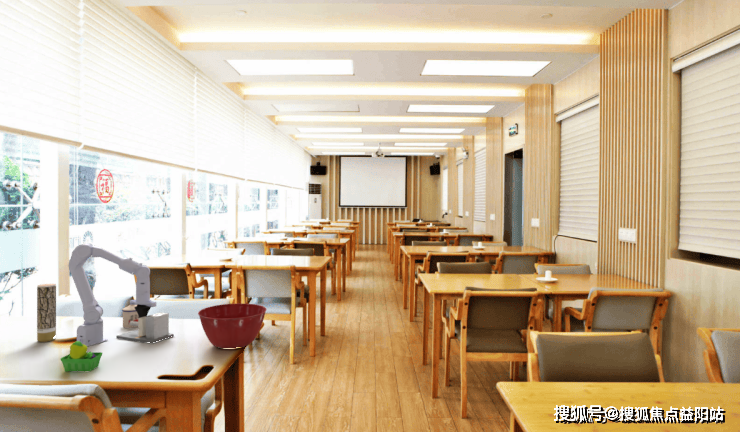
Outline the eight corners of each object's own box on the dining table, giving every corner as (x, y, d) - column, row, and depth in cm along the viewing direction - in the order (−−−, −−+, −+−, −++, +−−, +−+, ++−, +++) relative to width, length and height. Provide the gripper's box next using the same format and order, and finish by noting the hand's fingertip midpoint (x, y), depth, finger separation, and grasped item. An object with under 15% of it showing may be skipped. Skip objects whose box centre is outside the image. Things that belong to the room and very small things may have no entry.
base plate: (152, 343, 188) (152, 340, 188) (116, 338, 196) (116, 335, 196) (173, 336, 200) (173, 333, 200) (139, 331, 208) (139, 329, 208)
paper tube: (45, 343, 189) (45, 286, 189) (33, 342, 190) (33, 285, 190) (59, 338, 195) (59, 284, 195) (47, 337, 197) (47, 283, 197)
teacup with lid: (128, 329, 212) (128, 305, 212) (118, 326, 217) (118, 303, 217) (151, 324, 222) (151, 301, 222) (141, 321, 227) (141, 299, 227)
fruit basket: (103, 365, 161) (103, 335, 161) (89, 374, 153) (89, 342, 153) (72, 365, 161) (73, 335, 161) (56, 374, 152) (56, 342, 152)
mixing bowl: (278, 346, 186) (278, 310, 186) (213, 360, 167) (213, 321, 167) (249, 332, 207) (249, 300, 207) (188, 344, 188) (188, 309, 188)
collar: (142, 336, 194) (142, 318, 194) (138, 335, 195) (138, 318, 195) (155, 332, 200) (155, 315, 200) (151, 331, 201) (151, 314, 201)
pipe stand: (154, 339, 191) (154, 317, 191) (123, 335, 197) (123, 313, 197) (168, 334, 198) (168, 313, 198) (138, 330, 205) (138, 309, 205)
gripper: (161, 291, 199) (161, 320, 200) (138, 289, 205) (138, 317, 205) (149, 294, 193) (148, 324, 193) (125, 291, 198) (125, 321, 198)
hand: (142, 321), depth 198 cm, fingers closed
